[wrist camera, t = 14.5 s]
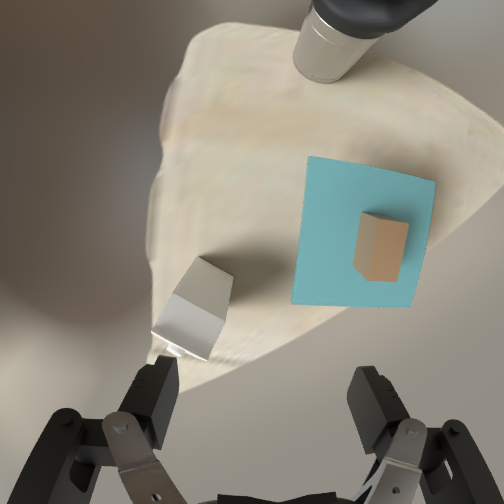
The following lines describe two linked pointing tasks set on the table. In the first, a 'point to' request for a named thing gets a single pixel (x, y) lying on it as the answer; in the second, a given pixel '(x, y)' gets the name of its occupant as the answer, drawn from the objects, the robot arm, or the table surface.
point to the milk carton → (195, 311)
